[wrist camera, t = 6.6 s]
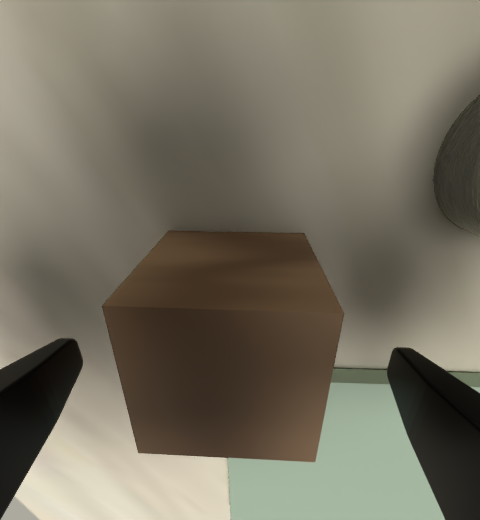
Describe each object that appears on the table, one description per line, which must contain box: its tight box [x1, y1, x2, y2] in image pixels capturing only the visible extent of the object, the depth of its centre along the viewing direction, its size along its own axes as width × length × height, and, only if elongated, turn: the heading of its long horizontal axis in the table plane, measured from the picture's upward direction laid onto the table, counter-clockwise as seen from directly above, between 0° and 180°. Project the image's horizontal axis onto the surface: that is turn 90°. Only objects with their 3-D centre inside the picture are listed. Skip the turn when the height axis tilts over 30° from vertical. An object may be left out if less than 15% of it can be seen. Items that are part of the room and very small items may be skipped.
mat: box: [228, 368, 480, 520], centre depth 15 cm, size 13×12×1 cm
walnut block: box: [102, 231, 344, 462], centre depth 9 cm, size 5×5×5 cm
